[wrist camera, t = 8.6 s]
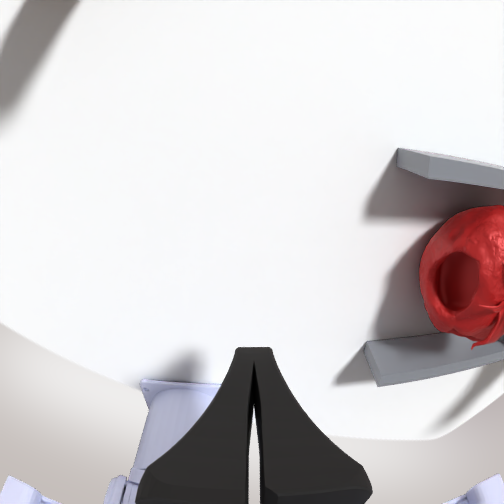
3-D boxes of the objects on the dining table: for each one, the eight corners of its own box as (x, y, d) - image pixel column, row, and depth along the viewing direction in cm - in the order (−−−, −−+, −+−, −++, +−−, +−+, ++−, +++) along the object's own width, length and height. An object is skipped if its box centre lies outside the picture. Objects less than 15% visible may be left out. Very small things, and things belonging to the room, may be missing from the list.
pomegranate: (488, 173, 18) (579, 208, 9) (502, 276, 21) (566, 331, 12) (389, 230, 19) (468, 299, 11) (418, 331, 23) (470, 410, 14)
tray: (491, 333, 23) (511, 357, 20) (363, 352, 23) (377, 387, 20) (535, 175, 17) (566, 187, 13) (397, 148, 17) (430, 156, 13)
